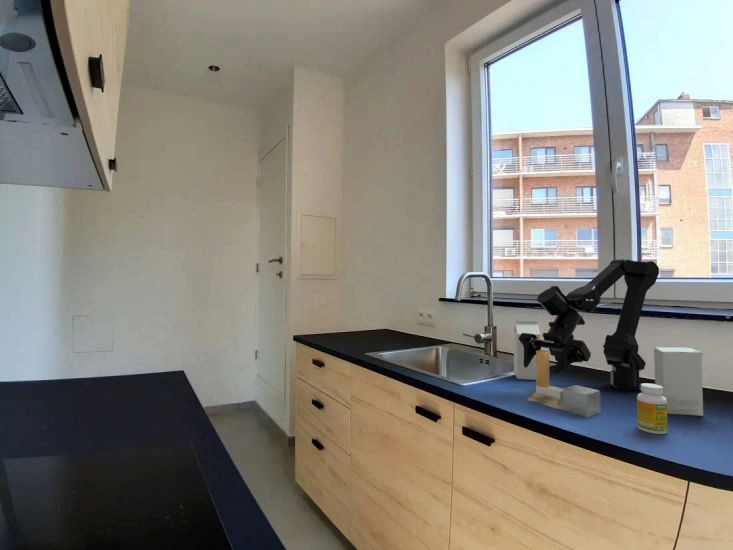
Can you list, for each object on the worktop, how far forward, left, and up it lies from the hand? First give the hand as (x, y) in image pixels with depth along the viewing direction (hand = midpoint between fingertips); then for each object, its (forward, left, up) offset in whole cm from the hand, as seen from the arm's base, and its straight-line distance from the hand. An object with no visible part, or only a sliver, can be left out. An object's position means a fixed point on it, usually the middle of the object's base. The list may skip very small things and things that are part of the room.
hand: (539, 370), depth 108 cm
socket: (-8, +7, -8) cm, 14 cm away
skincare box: (-32, +1, -9) cm, 33 cm away
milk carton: (-1, -27, -9) cm, 28 cm away
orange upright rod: (-2, +1, -7) cm, 8 cm away
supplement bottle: (-20, +16, -9) cm, 27 cm away
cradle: (-3, +1, -8) cm, 9 cm away
